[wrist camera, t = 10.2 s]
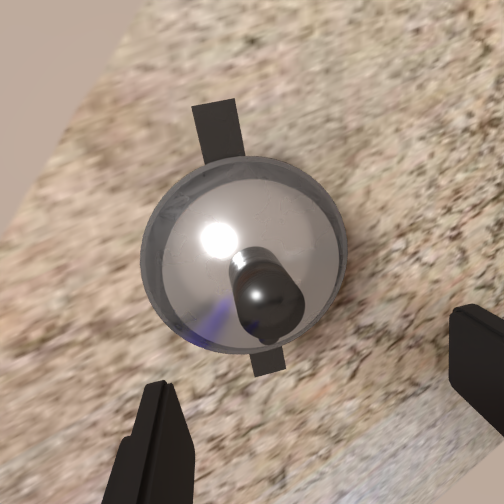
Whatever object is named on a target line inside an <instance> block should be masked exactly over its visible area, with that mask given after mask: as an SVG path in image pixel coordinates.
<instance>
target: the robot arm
mask: <svg viewBox="0 0 504 504" xmlns="http://www.w3.org/2000/svg"><path fill="white" fill-rule="evenodd" d="M449 381H450V384H451V385H452V387H453V388H454V389H455V390H456V391H457V392H458V393H459V394H460V395H461V396H462V397H463V398H464V399H465V400H466V401H467V402H468V403H469V404H470V405H471V406H472V407H473V408H474V409H475V410H476V411H477V412H478V413H479V414H480V415H482V416H483V417H484V418H485V419H486V420H487V421H488V422H489V423H490V424H491V425H492V426H493V427H494V428H495V429H496V430H497V431H498V432H499V433H500V434H501V435H502V436H503V437H504V320H503V319H501V318H500V317H498V316H496V315H494V314H492V313H491V312H489V311H487V310H485V309H484V308H482V307H480V306H478V305H476V304H468V305H464V306H460V307H456V308H454V310H453V313H452V314H450V317H449ZM194 472H195V449H194V444H193V441H192V438H191V435H190V433H189V430H188V427H187V424H186V421H185V418H184V415H183V412H182V409H181V406H180V403H179V400H178V398H177V395H176V392H175V389H174V386H173V384H172V383H170V384H167V382H166V381H165V380H162V381H158V382H154V383H150V384H147V385H146V386H145V388H144V392H143V395H142V399H141V402H140V406H139V409H138V413H137V416H136V420H135V423H134V427H133V430H132V434H131V436H127V437H124V438H123V439H122V441H121V443H120V446H119V449H118V452H117V455H116V458H115V462H114V465H113V468H112V471H111V474H110V477H109V481H108V484H107V487H106V490H105V493H104V496H103V500H102V503H101V504H193V492H194Z"/></svg>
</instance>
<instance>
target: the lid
mask: <svg viewBox="0 0 504 504" xmlns="http://www.w3.org/2000/svg"><path fill="white" fill-rule="evenodd" d="M338 267H339V250H338V245H337V240H336V236H335V233H334V230H333V228H332V226H331V224H330V222H329V220H328V219H327V217H326V216H325V214H324V213H323V211H322V210H321V209H320V208H319V207H318V206H317V205H316V203H314V202H313V201H312V200H311V199H310V198H308V197H307V196H306V195H304V194H303V193H301V192H299V191H298V190H296V189H294V188H291V187H289V186H287V185H284V184H282V183H278V182H275V181H271V180H265V179H240V180H233V181H230V182H226V183H223V184H220V185H218V186H216V187H213V188H211V189H210V190H208V191H206V192H205V193H203V194H201V195H200V196H199V197H197V198H196V199H195V200H194V201H192V202H191V203H190V204H189V206H188V207H187V208H186V209H185V210H184V211H183V212H182V214H181V215H180V216H179V218H178V219H177V221H176V222H175V224H174V226H173V228H172V230H171V232H170V235H169V238H168V241H167V243H166V246H165V250H164V255H163V264H162V274H163V283H164V287H165V292H166V294H167V297H168V299H169V302H170V304H171V306H172V307H173V309H174V311H175V313H176V314H177V315H178V316H179V318H180V319H181V320H182V321H183V322H184V323H185V324H186V325H187V326H188V327H189V328H190V329H191V330H193V331H194V332H195V333H197V334H198V335H200V336H202V337H203V338H205V339H207V340H209V341H212V342H214V343H217V344H220V345H224V346H228V347H235V348H256V347H262V346H267V345H273V344H275V343H277V342H280V341H282V340H285V339H287V338H289V337H291V336H293V335H294V334H296V333H298V332H299V331H300V330H302V329H303V328H305V327H306V326H307V325H308V324H309V323H310V322H311V321H312V320H314V319H315V317H316V316H317V315H318V314H319V313H320V312H321V310H322V309H323V307H324V306H325V304H326V303H327V301H328V299H329V297H330V295H331V293H332V291H333V288H334V286H335V283H336V279H337V274H338Z"/></svg>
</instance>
